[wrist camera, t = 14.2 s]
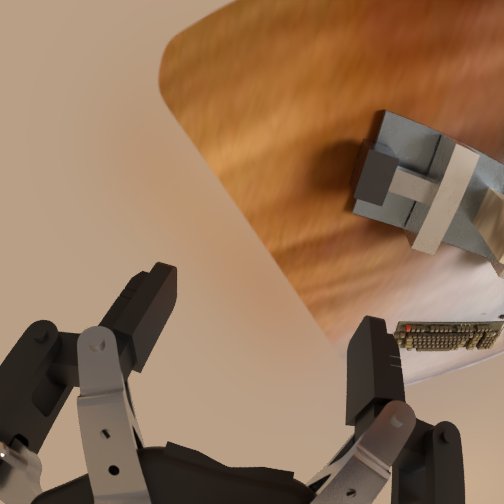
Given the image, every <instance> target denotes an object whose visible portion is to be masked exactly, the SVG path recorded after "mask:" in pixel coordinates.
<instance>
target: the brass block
mask: <svg viewBox="0 0 504 504" xmlns="http://www.w3.org/2000/svg"><path fill="white" fill-rule="evenodd" d="M472 223H473V225H474V226H475V227H476V229H477V230H478V232H479V233H480V234H481V236H482V237H483V239H484V240H485V242H486V243H487V245H488V246H489V248H490V249H491V251H492V252H493V254H494V255H495V257H496V258H497V260H498V261H499V262H500V263H503V264H504V195H503V194H501V193H499V192H497V191H495V190H494V189H492V188H490V187H489V188H488V191H487V193H486V195H485V197H484V199H483V202H482V204H481V206H480V208H479V210H478V212H477V214H476V216H475V218H474V220H473V222H472Z"/></svg>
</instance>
